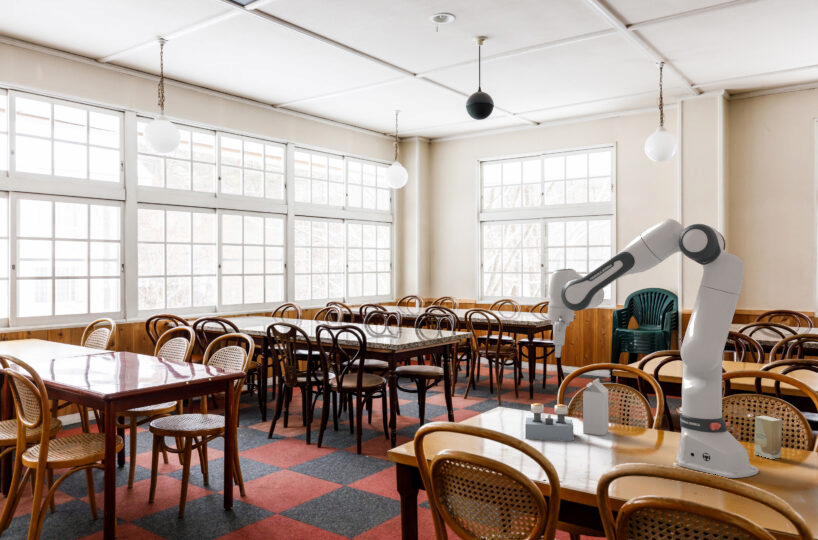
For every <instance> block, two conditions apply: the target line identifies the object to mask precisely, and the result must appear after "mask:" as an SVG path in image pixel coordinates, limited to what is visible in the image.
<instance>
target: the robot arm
mask: <svg viewBox="0 0 818 540" xmlns="http://www.w3.org/2000/svg"><path fill="white" fill-rule="evenodd" d="M725 250H726V240H725V238H724V236H723V235H722V233H721V232H719V231H718V230H717V229H716V228H714V227H712V226H710V225H707V224H704V223H694V224H691V225H689V226H687V227H684V226H683V224H681V223H680V222H678V221H677V220H675V219H673V218H666V219H665V218H664V219H663V220H662V221H659V222H657V223H655V224H653V225H652V226H650V227H649V228H647V229H645V230H644V231H643V232H641V233H639V234H638V235H637V236H636V237H635V238H633V239H632V240H631V241H630V242H629V243H627V244H626V245H625V246H624V247H623V248H622V249H621V250H620V251H618V252H617V253H616V254H615V255H614V256H613V257H611V258H610V259H609V260H607V261H606V262H604V263H603V264H601V265H600V266H598V267H596V269H594V270H593V271H591V272H590V273H588V274H587V275H585V276H583V275H582V274H580V273H578V272H577V271H576V270H575V269H573V268H561V269H556V270H555V271H553V273H551V278H550V282H549V292H548V294H549V301H548V305H547V316H546V317H547V318H546V319H547V320H549V321H550V325H552V331H553V332H552V335H553V337H552V338H553V341H552V343H553V345H554V350H555V351H554V357H555V358H561V353H562V347H563V346H565V342H566V341H565V339H566V330H567V327H570V323H571V322H574V319H575V311H576V312H579V311H582V310H588V309H594V308H596V307H598V306H600V305H601V304H602V302H603V301H604V298H605V292H604V288H606V287H608V286H609V285H611V284H612V283H613V282H615V281H616V280H618V279H620V278H622V277H625V276H628V275H633V274H639V273H643V272H647V271H648V270H650V269H652V268H653V269H654V267H656V266H658V265H659V264H661V263H662V262H664V261H665V260H667V259H668V258H670V257H671V256H672V255H674V254H676V253H680V252H681V253H682V254H683V255H684V256H685V257H686V258H688V259H690V260H691V261H694V262H695V263H697V264H699V265H702V268H703V272H702V273H703V274H702V277H701V281H700V285H699V288H698V291H697V294H696V298H695V301H694V305H693V308H692V311H691V312H692V313H691V315H690V319H689V321H688V324H687V328H686V331H685V335H684V337H683V341H682V344H681V347H680V351H679V352H680V357H681V360H682V377H681V378H682V381H681V413H680V415H679V423H680V424H679V425H680V429H681V430H680V431H681V432H680V440H679V447H678V451H677V454H676V457H675V460H676V461H677V462H678V466H679V467H683V468H687V469H690V470H695V471H699V472H703V473H707V474H711V475H715V474H716V475H715V476H719V477H722V478H723V477H724V478H728V479H740V478H747V477H751V476H752V477H753V476H754V475H757V474H758V473H759V467H756V466H755V465H752V464H750V457H749V456H750V455H749V452H748V450H747V448H746V447H745V446H744V445H742V443H740V442H739V440H738V439H736V438H735V437H734V436H733V435H732V434H731V433H730V432H729V431H728V427H729V426H730V423H732V422H731V421H725V418H724V416H723V353H724V350H725V346H726V343H727V340H728V337H729V333H730V329H731V326H732V322H733V318H734V315H735V311H736V309H737V305H738V302H739V298H740V295H741V291H742V287H743V283H744V277H745V275H744V274H745V263H744V261H743V260H742V259H741V258H740V257H739V256H738V255H735V254H733V253H729V252H727V251H725Z"/></svg>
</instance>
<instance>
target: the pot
mask: <svg viewBox="0 0 818 540" xmlns="http://www.w3.org/2000/svg"><path fill="white" fill-rule="evenodd" d="M551 416H552V414H551V413H548V414H547V417H544V418H545V424H546V425H553V419H554V418H551Z"/></svg>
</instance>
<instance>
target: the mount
mask: <svg viewBox="0 0 818 540" xmlns="http://www.w3.org/2000/svg"><path fill="white" fill-rule="evenodd" d="M545 418H546V417H544V418H543V417H541V423H540V422H534V417H526V418H525V424H524V425H525V428H524V429H525V433H524V434H525V435H524V436H525V439H526V440H527V439H528V440H529V439H530V440H545V441H546V440H547V441H563V442H574V422H573V419H565V424H559V423H558V418H552V419H553V425H546V424H545Z"/></svg>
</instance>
